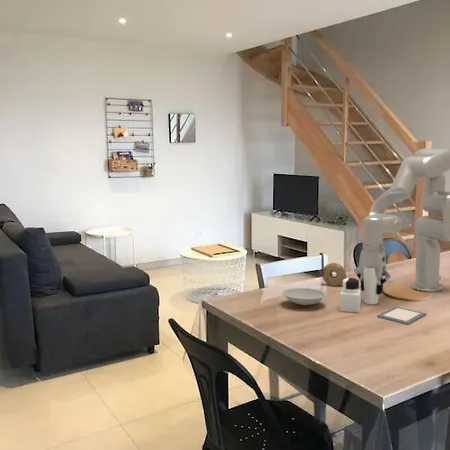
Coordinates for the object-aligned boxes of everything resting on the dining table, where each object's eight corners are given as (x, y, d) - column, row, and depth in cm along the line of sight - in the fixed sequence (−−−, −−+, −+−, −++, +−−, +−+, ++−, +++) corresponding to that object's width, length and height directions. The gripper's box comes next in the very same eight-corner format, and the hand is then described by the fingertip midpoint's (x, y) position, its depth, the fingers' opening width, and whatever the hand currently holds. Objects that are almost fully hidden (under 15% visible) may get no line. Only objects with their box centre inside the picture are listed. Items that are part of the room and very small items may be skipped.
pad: (395, 307, 198) (395, 306, 198) (426, 314, 190) (426, 313, 190) (377, 317, 189) (377, 315, 189) (408, 324, 180) (408, 323, 180)
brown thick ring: (321, 285, 230) (321, 263, 229) (323, 283, 234) (323, 261, 232) (344, 287, 227) (345, 265, 225) (346, 285, 230) (346, 263, 228)
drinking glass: (380, 306, 201) (382, 268, 198) (362, 305, 202) (364, 268, 200) (379, 300, 207) (380, 264, 205) (361, 299, 209) (363, 264, 206)
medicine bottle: (360, 307, 200) (361, 277, 198) (359, 313, 194) (359, 282, 192) (341, 305, 203) (342, 276, 201) (339, 311, 196) (340, 280, 194)
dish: (328, 301, 208) (329, 289, 207) (324, 313, 194) (324, 300, 194) (286, 298, 213) (286, 286, 213) (278, 309, 200) (278, 296, 199)
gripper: (398, 249, 198) (396, 294, 201) (358, 243, 210) (357, 286, 213) (388, 252, 192) (386, 298, 195) (348, 246, 205) (347, 289, 208)
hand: (371, 291), depth 204 cm, fingers closed on drinking glass, 6 cm apart
